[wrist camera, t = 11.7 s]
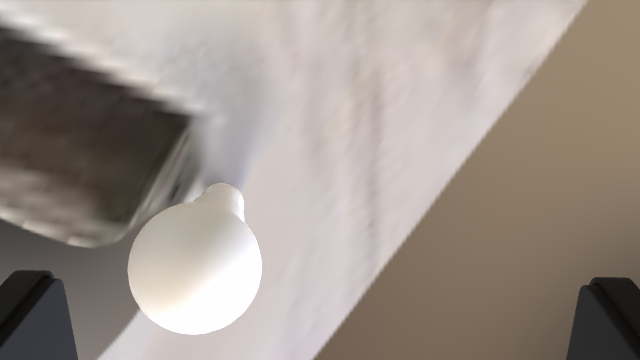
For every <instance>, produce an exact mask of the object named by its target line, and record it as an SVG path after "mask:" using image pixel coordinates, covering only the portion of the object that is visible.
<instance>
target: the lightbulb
mask: <svg viewBox="0 0 640 360" xmlns="http://www.w3.org/2000/svg"><path fill="white" fill-rule="evenodd" d="M243 210H244V200H243V197H242V195H241V193H240V192H239V191H238V190H237V189H236V188H235V187H233V186H232V185H229V184H226V183H216V184H213V185H211V186H209V187H208V188H207V189H205V191H204V192H203V193H202V194H201V196H200V197H198V198H196V199H195V200H194V201H193V202H189V203H182V204H178V205H175V206H172V207H169V208H167V209H166V210H164V211H162V212H161V213H159V214H157V215H156V216H154V217H153V218H152V219H151V220H150V221H149V222H148V223H146V224H145V225H144V227H143V228H142V230H141V231H140V233H139V234H138V236H137V237H136V239H135V240H134V243H133V246H132V249H131V251H130V256H129V262H128V277H129V285H130V288H131V291H132V294H133V297H134V298H135V300H136V301H137V303H138V305H139V307H140V308H141V309H142V311H143V312H144V313H145V314H146V315H147V316H148V317H149V318H150V319H151V320H153V321H154V322H155V323H157V324H159V325H160V326H162V327H164V328H166V329H169V330H172V331H174V332H179V333H184V334H201V333H207V332H211V331H214V330H217V329H220V328H222V327H224V326H226V325H228V324H230V323H231V322H233V321H234V320H235V319H236V318H237V317H239V316H240V315H241V314H242V313H243V312H244V311H245V310H246V308H247V307H248V306H249V304H250V303H251V301H252V300H253V298H254V296H255V294H256V292H257V290H258V287H259V282H260V278H261V273H262V260H261V255H260V251H259V247H258V243H257V241H256V239H255V237H254V234H253V233H252V231H251V230H250V229H249V227H248V226H247V225H246V224H245V223H244V215H243Z"/></svg>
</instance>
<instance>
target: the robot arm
mask: <svg viewBox="0 0 640 360" xmlns="http://www.w3.org/2000/svg"><path fill="white" fill-rule="evenodd" d="M0 360H78V356H77V351H76V346H75V341H74V335H73V330H72V325H71V320H70V314H69V309H68V304H67V299H66V294H65V289H64V285H63V282H62V281H61V280H60V279H55V278H54V275H53V274H52V272H50V271H36V270H31V271H30V270H19V271H15V272H13V273H12V274H11V275H10V276H9V277H8V278H7V279H6V280H5V281H4V283H3V284H2V285H1V286H0ZM566 360H640V289H639V288H638V287H637V286H636V285H635V284H634V282H633V281H632V280H630V279H629V278H615V277H612V278H611V277H595V278H593V279H592V280H591V282H590V284H589V285H584V286H582V287H581V289H580V292H579V296H578V301H577V306H576V311H575V316H574V322H573V327H572V332H571V337H570V342H569V348H568V353H567V358H566Z"/></svg>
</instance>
